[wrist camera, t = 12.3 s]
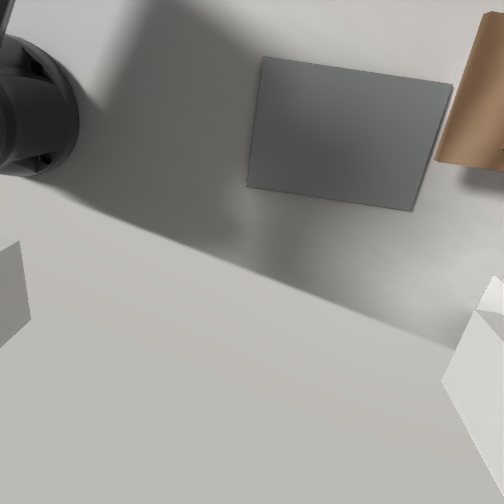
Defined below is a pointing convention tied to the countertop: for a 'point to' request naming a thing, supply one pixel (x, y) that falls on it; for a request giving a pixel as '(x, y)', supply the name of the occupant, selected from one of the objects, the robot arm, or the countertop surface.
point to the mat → (343, 133)
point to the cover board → (479, 104)
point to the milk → (493, 296)
